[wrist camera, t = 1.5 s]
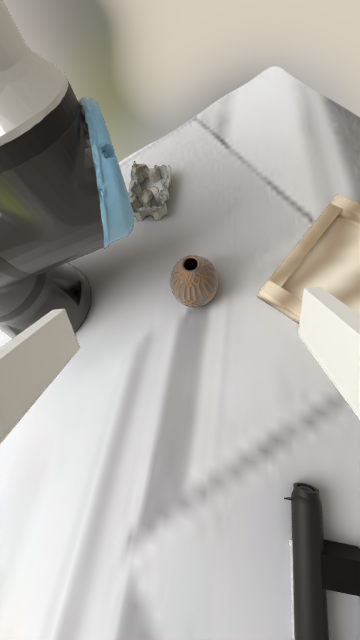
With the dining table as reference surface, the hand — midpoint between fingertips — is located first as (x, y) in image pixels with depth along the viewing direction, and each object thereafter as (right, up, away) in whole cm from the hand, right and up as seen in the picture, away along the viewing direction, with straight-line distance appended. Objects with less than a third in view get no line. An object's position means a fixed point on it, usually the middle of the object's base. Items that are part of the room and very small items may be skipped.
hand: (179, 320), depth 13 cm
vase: (+3, +4, +24) cm, 24 cm away
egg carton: (-5, +23, +31) cm, 39 cm away
